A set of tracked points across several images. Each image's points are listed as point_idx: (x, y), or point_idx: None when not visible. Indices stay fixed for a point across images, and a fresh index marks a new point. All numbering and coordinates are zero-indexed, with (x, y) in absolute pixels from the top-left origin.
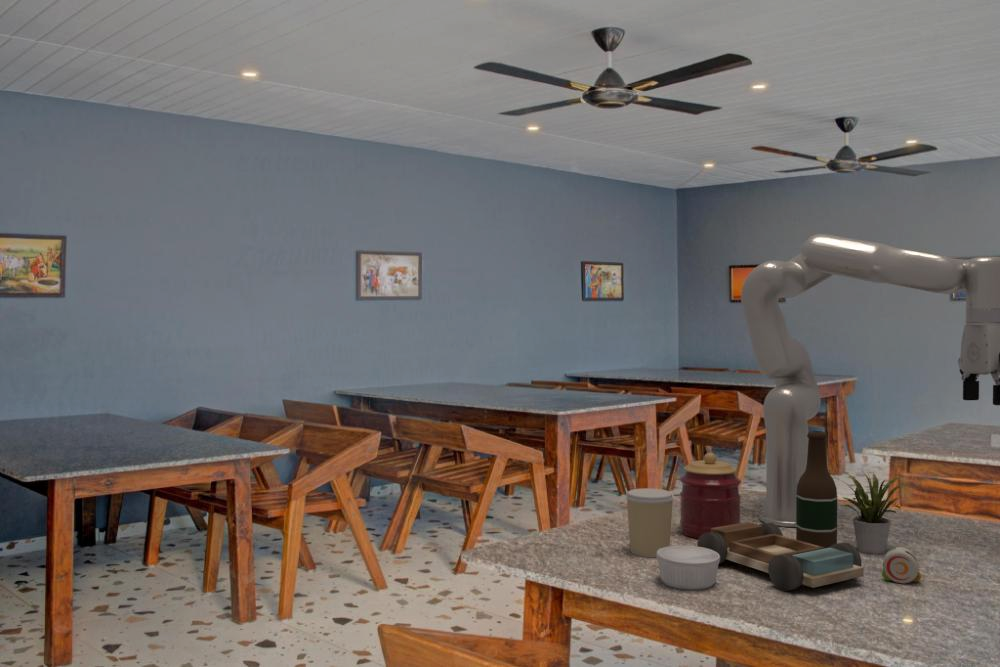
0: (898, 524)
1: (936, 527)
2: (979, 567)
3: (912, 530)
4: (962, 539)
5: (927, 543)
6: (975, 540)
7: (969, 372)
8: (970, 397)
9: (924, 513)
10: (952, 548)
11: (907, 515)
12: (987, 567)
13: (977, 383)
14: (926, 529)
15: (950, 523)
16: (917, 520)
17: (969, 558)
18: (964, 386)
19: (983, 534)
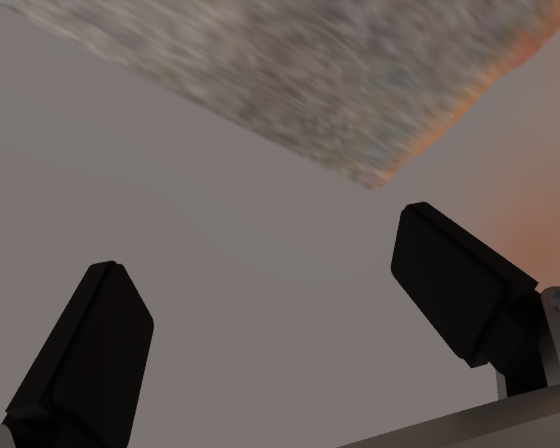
0: (391, 28)
1: (360, 94)
2: (82, 25)
3: (348, 34)
4: (283, 99)
5: (255, 10)
6: (276, 118)
7: (473, 417)
8: (404, 241)
9: (441, 120)
10: (221, 46)
11: (440, 83)
12: (88, 43)
13: (457, 344)
14: (350, 67)
15: (378, 131)
16: (407, 83)
17: (150, 41)
18: (476, 255)
19: (311, 149)
